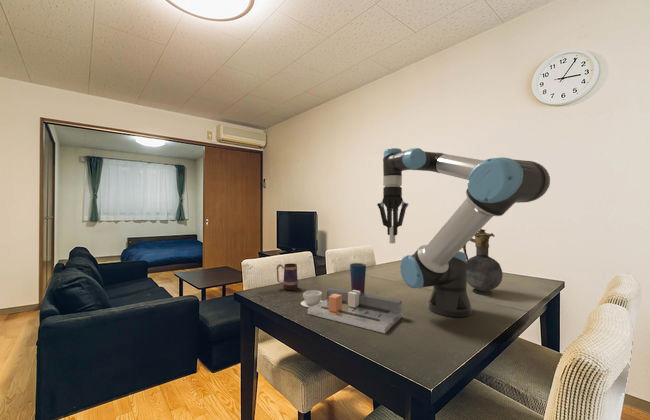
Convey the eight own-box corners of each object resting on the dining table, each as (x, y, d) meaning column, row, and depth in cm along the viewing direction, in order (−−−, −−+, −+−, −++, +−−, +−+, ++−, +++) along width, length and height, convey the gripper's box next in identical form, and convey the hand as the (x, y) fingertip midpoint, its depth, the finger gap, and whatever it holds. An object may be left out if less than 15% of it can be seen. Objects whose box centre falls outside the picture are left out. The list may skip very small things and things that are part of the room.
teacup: (329, 303, 119) (329, 291, 119) (315, 310, 111) (315, 298, 111) (310, 298, 125) (310, 288, 125) (295, 305, 117) (295, 293, 117)
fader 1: (342, 308, 106) (342, 294, 106) (335, 312, 102) (335, 297, 102) (334, 307, 107) (334, 292, 107) (328, 310, 104) (328, 296, 104)
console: (401, 317, 103) (401, 300, 103) (384, 333, 90) (384, 314, 90) (330, 301, 120) (330, 287, 120) (307, 313, 107) (307, 297, 107)
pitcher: (487, 299, 124) (487, 229, 123) (454, 287, 142) (454, 226, 141) (506, 296, 127) (506, 228, 126) (472, 285, 145) (472, 225, 145)
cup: (365, 302, 119) (365, 266, 119) (349, 301, 120) (349, 265, 120) (366, 297, 126) (366, 263, 126) (350, 296, 127) (350, 262, 127)
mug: (297, 286, 144) (297, 262, 144) (298, 290, 137) (298, 265, 137) (277, 287, 142) (276, 262, 142) (276, 291, 135) (276, 265, 135)
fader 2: (360, 304, 110) (360, 290, 110) (355, 307, 107) (355, 293, 107) (353, 302, 112) (353, 289, 112) (347, 305, 108) (347, 292, 108)
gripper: (410, 186, 120) (410, 243, 120) (381, 187, 127) (381, 241, 127) (405, 185, 114) (404, 245, 114) (374, 186, 121) (374, 242, 121)
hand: (392, 243), depth 121 cm, fingers closed
